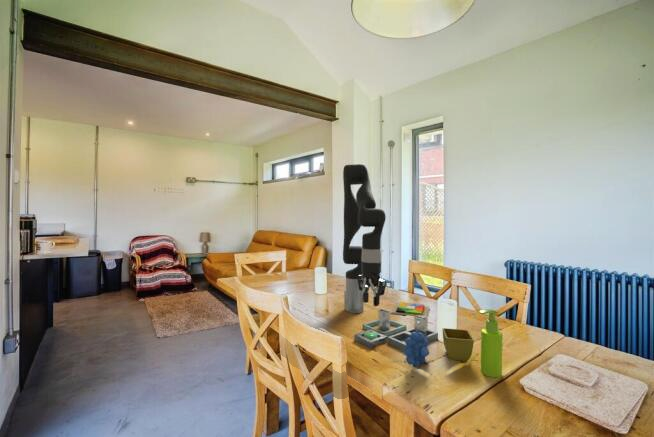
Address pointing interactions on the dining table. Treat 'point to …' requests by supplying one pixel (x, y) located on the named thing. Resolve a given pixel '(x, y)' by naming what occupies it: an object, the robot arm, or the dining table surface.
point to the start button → (370, 335)
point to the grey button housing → (370, 343)
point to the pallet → (400, 338)
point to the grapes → (416, 349)
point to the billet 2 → (421, 324)
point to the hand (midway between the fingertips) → (371, 303)
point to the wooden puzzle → (410, 309)
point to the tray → (399, 328)
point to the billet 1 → (384, 320)
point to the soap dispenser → (491, 346)
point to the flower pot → (458, 344)
